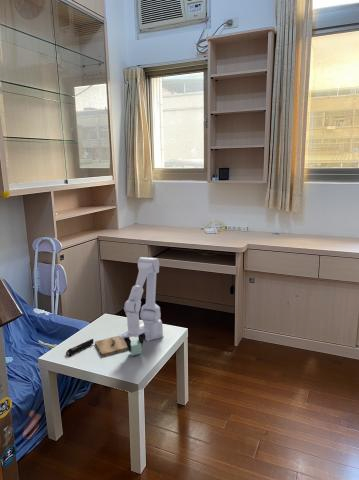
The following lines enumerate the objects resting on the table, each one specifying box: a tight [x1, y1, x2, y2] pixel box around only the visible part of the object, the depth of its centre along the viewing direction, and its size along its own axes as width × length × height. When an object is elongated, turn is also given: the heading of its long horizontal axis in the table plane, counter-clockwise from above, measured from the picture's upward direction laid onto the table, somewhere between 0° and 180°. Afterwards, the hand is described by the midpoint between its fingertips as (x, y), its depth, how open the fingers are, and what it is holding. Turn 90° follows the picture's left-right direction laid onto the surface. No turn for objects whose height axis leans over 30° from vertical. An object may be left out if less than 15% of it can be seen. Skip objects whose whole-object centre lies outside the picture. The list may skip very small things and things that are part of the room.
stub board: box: [94, 335, 129, 358], centre depth 182 cm, size 16×14×4 cm
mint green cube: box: [129, 338, 143, 357], centre depth 173 cm, size 5×5×5 cm
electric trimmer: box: [65, 338, 94, 357], centre depth 180 cm, size 4×16×3 cm, turn 140°
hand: (135, 349), depth 173 cm, fingers closed on mint green cube, 5 cm apart
